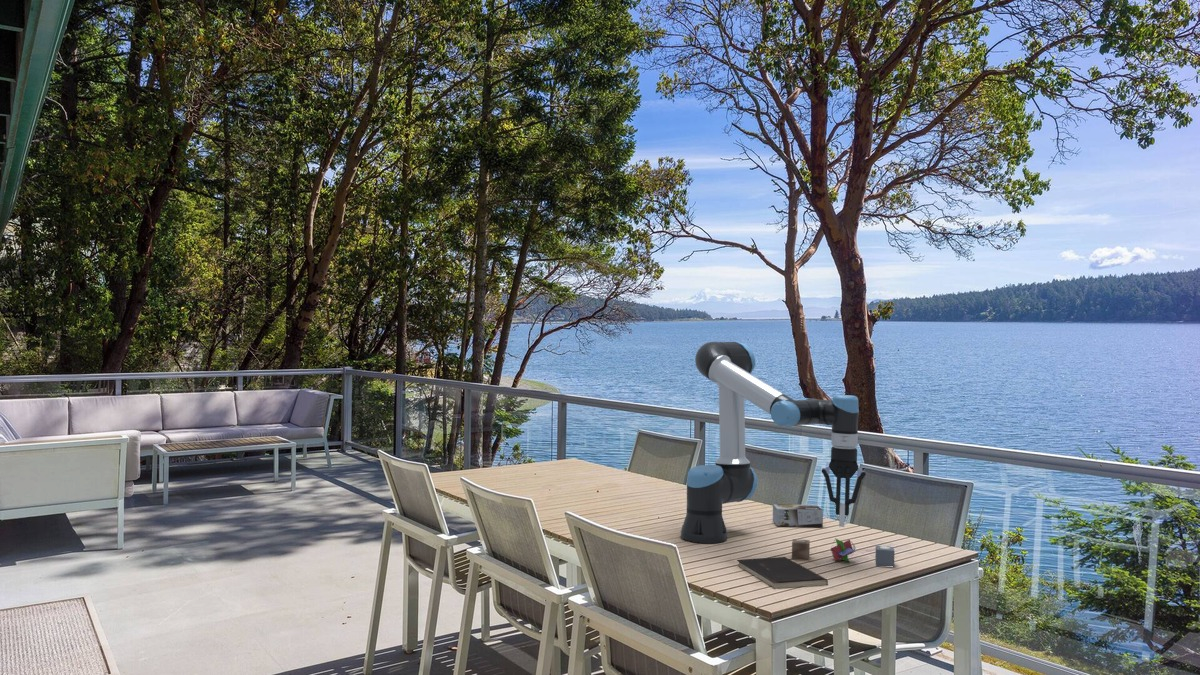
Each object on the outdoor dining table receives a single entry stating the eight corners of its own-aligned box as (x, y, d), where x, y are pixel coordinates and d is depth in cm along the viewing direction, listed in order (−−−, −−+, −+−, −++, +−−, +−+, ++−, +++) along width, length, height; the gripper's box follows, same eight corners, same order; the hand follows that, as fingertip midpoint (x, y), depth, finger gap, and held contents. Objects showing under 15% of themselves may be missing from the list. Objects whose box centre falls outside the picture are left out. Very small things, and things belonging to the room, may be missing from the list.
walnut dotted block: (791, 559, 255) (792, 541, 255) (792, 555, 259) (792, 538, 259) (808, 560, 253) (809, 543, 253) (809, 556, 258) (809, 539, 258)
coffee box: (776, 526, 298) (822, 527, 297) (776, 508, 298) (823, 509, 297) (772, 521, 307) (817, 522, 306) (772, 503, 307) (817, 504, 307)
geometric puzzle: (832, 557, 248) (847, 535, 250) (820, 551, 255) (835, 529, 256) (849, 571, 250) (864, 549, 251) (837, 565, 257) (851, 543, 258)
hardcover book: (773, 590, 224) (774, 582, 224) (736, 567, 246) (737, 559, 246) (827, 587, 228) (828, 578, 228) (786, 564, 250) (786, 556, 250)
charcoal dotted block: (876, 566, 248) (876, 548, 248) (875, 562, 253) (875, 544, 253) (894, 568, 247) (894, 550, 247) (893, 563, 252) (893, 546, 252)
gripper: (821, 447, 251) (819, 526, 252) (867, 450, 248) (865, 530, 248) (821, 444, 258) (819, 521, 259) (866, 446, 255) (864, 525, 255)
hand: (841, 525), depth 253 cm, fingers closed
